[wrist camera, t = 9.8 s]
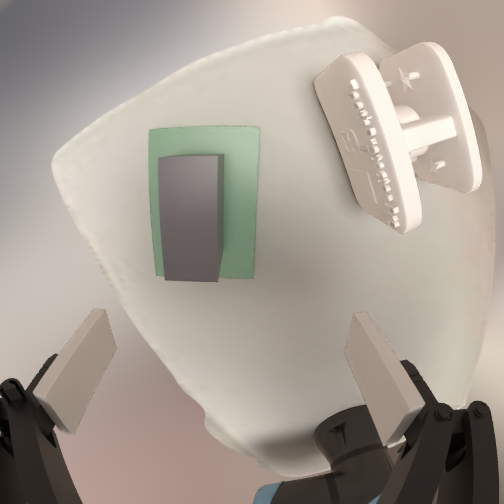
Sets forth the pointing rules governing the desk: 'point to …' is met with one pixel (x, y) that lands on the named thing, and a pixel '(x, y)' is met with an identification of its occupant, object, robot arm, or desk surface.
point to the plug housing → (191, 216)
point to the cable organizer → (400, 129)
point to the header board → (235, 188)
